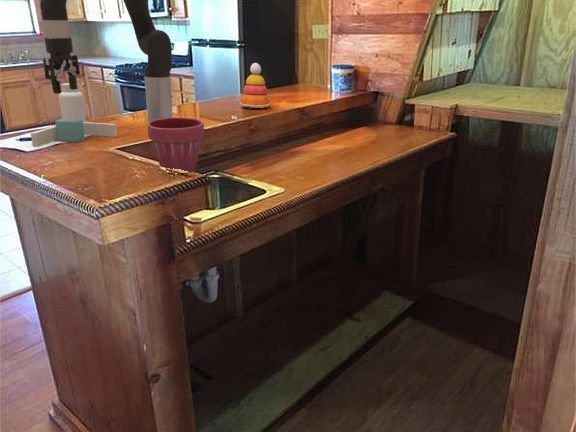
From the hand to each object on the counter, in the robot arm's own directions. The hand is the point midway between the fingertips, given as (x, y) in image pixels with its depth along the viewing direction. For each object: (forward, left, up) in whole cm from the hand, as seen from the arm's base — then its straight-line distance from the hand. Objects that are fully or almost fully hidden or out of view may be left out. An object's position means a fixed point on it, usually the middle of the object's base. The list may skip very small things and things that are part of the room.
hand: (65, 91), depth 157 cm
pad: (0, 0, -15) cm, 15 cm away
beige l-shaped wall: (+1, +2, -15) cm, 15 cm away
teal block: (0, 0, -15) cm, 15 cm away
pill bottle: (-18, -10, -16) cm, 26 cm away
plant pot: (+22, +46, -16) cm, 53 cm away
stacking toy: (-79, +41, -16) cm, 90 cm away
